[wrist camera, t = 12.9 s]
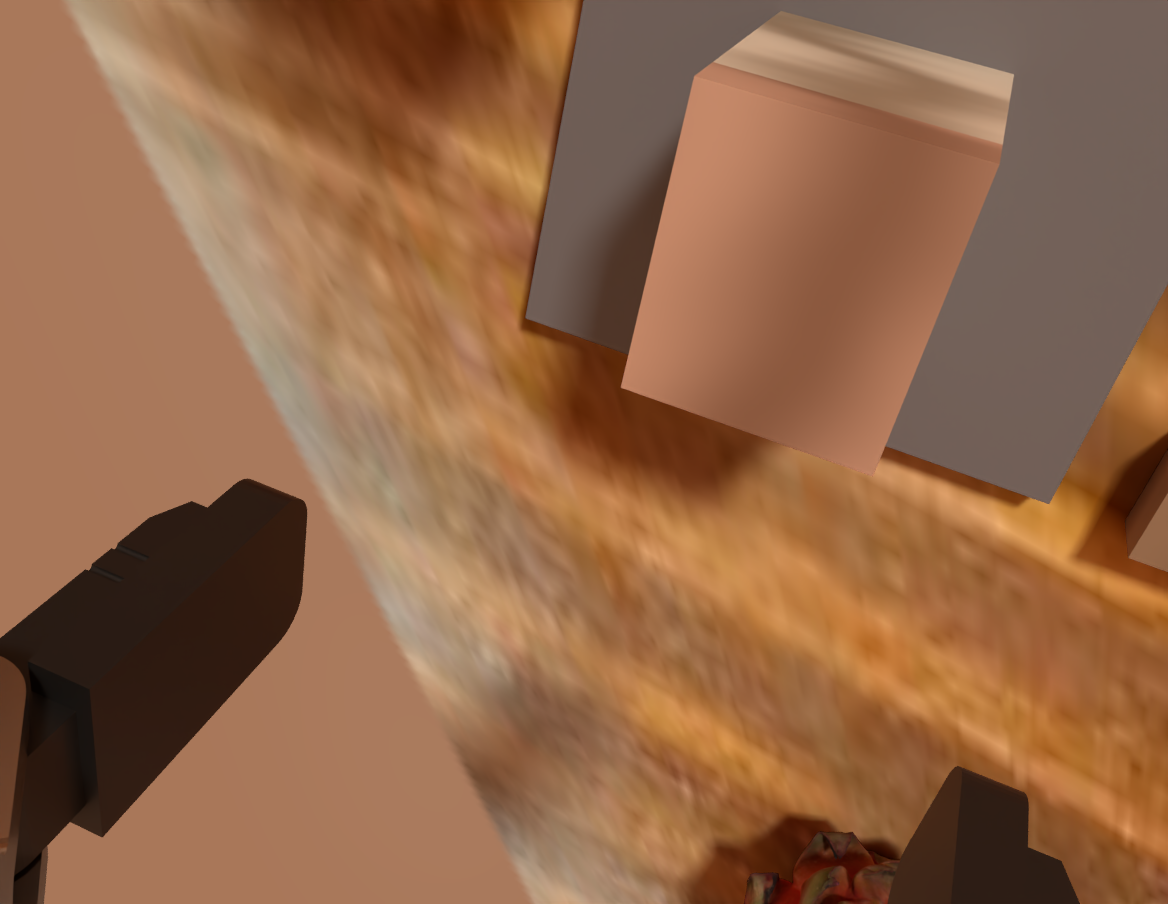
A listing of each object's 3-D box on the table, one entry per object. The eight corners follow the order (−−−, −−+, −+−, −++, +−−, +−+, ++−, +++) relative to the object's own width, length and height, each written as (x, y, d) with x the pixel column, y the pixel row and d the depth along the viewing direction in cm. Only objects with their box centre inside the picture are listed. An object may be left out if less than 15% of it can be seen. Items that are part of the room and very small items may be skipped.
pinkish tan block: (682, 356, 28) (593, 401, 19) (789, 28, 26) (740, -74, 17) (877, 422, 27) (870, 499, 19) (1004, 87, 25) (1059, 8, 16)
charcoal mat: (539, 304, 30) (525, 318, 30) (633, -191, 24) (618, -191, 23) (1049, 483, 28) (1049, 504, 27) (1315, -18, 21) (1326, -11, 20)
